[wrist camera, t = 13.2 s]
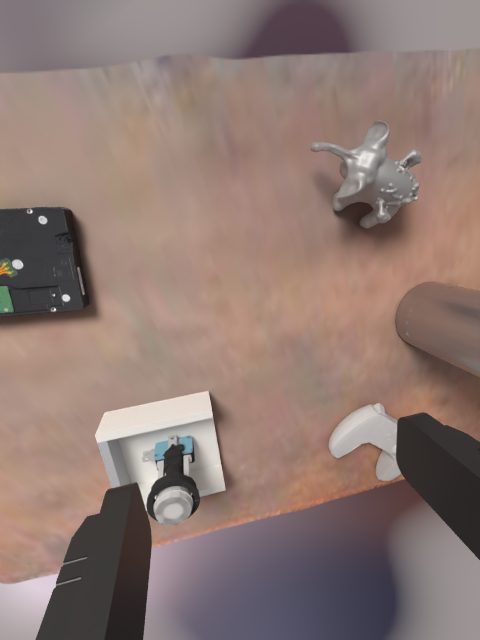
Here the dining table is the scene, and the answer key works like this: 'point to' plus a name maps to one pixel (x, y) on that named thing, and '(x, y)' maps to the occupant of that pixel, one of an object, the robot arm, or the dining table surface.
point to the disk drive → (39, 262)
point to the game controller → (369, 437)
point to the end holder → (156, 426)
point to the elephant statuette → (374, 176)
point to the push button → (172, 481)
